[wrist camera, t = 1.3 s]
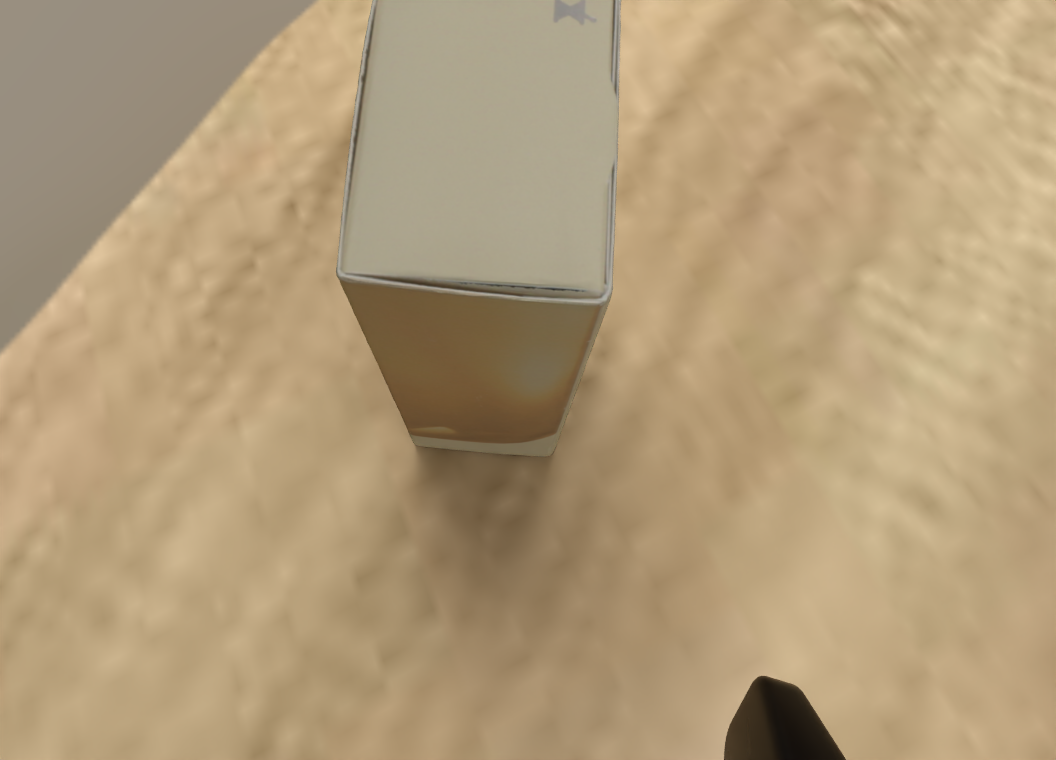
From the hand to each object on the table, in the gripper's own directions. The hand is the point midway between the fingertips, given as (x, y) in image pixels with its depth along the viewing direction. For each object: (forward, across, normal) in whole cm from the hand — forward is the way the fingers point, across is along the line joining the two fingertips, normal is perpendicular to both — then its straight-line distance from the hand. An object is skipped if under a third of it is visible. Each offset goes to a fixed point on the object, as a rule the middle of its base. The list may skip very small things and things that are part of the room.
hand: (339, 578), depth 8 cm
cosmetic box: (+15, +1, +5) cm, 16 cm away
